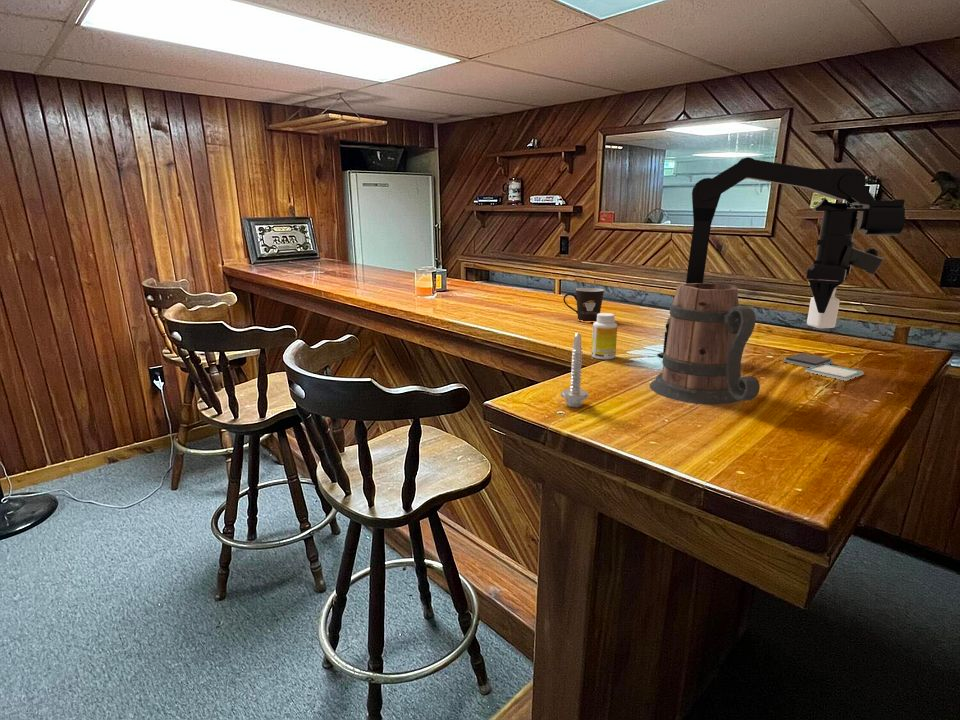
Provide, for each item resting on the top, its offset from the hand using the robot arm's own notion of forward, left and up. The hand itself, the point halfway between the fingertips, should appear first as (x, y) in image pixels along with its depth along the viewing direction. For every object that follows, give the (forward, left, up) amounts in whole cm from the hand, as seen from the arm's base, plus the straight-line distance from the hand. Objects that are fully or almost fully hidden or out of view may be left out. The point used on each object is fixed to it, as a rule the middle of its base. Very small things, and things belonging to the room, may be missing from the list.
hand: (822, 311), depth 111 cm
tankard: (-34, +3, -13) cm, 37 cm away
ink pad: (+5, +3, -13) cm, 14 cm away
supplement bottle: (-29, +33, -13) cm, 46 cm away
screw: (-58, +13, -13) cm, 61 cm away
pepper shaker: (0, 0, -4) cm, 4 cm away
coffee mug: (0, +68, -13) cm, 69 cm away
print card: (+1, -4, -13) cm, 13 cm away
